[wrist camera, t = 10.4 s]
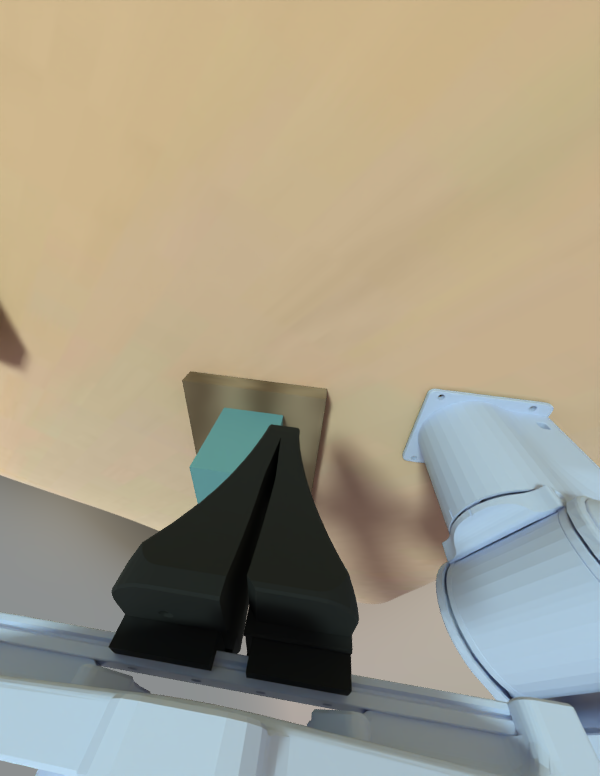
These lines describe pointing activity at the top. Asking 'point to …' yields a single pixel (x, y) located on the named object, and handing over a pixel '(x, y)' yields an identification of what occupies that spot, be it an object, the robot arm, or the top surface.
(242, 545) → the robot arm
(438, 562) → the top surface
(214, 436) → the teal block
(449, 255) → the top surface
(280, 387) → the brown wooden board
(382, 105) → the top surface
